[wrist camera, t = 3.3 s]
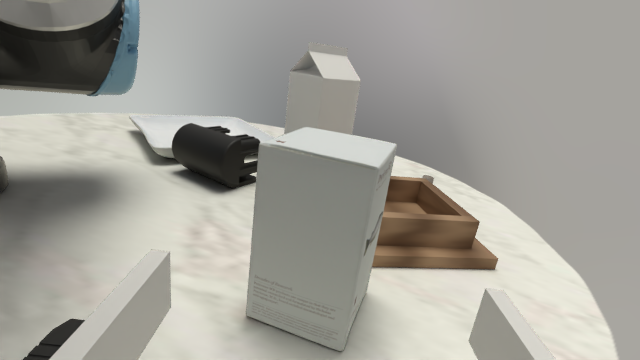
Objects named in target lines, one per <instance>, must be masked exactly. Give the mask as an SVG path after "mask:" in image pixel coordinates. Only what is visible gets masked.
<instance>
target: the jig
mask: <svg viewBox="0 0 640 360" xmlns="http://www.w3.org/2000/svg"><path fill="white" fill-rule="evenodd" d="M433 179H434V178H433V177H431V176H427V175H424V176H423V178H411V177H397V176H390V181H389V186H388V191H387V196H386V201H385V207H384V212H383V216H382V221H381V226H380V231H379V235H378V240H377V245H376V250H375V254H374V259H373V263H372V267H415V268H462V269H495V267H496V264H497V261H498V258H497V257H496V256H495V255H494V254H492V253H491V252H490V251H489V250H488V249H487V248H486V247H485V246H483V245H482V244H481V243H480V242H479V241H478V240H477V239H476V238H475V235H476V232H477V229H478V226H479V221H478V220H477V219H475V218H474V217H473V216H472V215H470V214H469V213H468V212H467V211H465V210H464V209H463V208H462V207H460V206H459V205H458V204H457V203H455V202H454V201H453V200H452V199H451V198H449V197H448V196H447V195H446V194H444V193H443V192H442V191H441V190H439V189H438V188H437V187H436V186H434V185H433V184H432V183H433Z"/></svg>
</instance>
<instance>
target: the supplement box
mask: <svg viewBox="0 0 640 360" xmlns="http://www.w3.org/2000/svg"><path fill="white" fill-rule="evenodd" d="M396 147H397V144H394V143H390V142H385V141H380V140H375V139H370V138H365V137H360V136H354V135H349V134H344V133H338V132H333V131H327V130H322V129H316V128H310V127H303V128H301V129H298V130H295V131H293V132H290V133H287V134H284V135H281V136H279V137H276V138H274V139H271V140H268V141H265V142H262V143H260V144H259V152H258V165H257V178H256V191H255V204H254V218H253V230H252V243H251V256H250V270H249V282H248V295H247V309H246V315H247V316H249V317H251V318H254V319H257V320H259V321H261V322H264V323H266V324H269V325H272V326H275V327H277V328H279V329H282V330H285V331H287V332H290V333H292V334H295V335H297V336H300V337H303V338H305V339H308V340H311V341H313V342H316V343H319V344H321V345H324V346H326V347H329V348H331V349H335V350H338V351H342V350H344V348H345V344H346V341H347V338H348V335H349V332H350V329H351V326H352V324H353V321H354V318H355V316H356V314H357V311H358V309H359V306H360V304H361V302H362V299H363V297H364V295H365V293H366V291H367V287H368V282H369V278H370V273H371V268H372V263H373V259H374V254H375V250H376V245H377V240H378V235H379V231H380V226H381V221H382V216H383V212H384V207H385V201H386V196H387V191H388V186H389V181H390V176H391V172H392V167H393V162H394V157H395V152H396Z"/></svg>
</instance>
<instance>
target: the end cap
mask: <svg viewBox="0 0 640 360" xmlns="http://www.w3.org/2000/svg"><path fill="white" fill-rule="evenodd" d="M226 133H230V130H229V129H227V128H223V127H221V126H213V127H203V126H200V125H197V124H193V123H189V124H186V125H184V126H182V127H181V128H180V129H179V130H178V131H177V132H176V134H175V135H174V138H173V141H172V153H173V156H174V157H175V159H176V160H177V161H178V162H179V163H181V164H182V165H183V166H184V167H186V168H188V169H189V170H192V171H194V172H196V173H199V174H201V175H203V176H206V177H208V178H210V179H213V180H215V181H217V182H219V183H222V184H224V185H226V186H229V187H231V188H237V187H241V186H244V185H248V184H251V183H254V182H256V177H255V176H252V175H250V174H252V173H256V172H257V165H258V161H253V162H249V163H244V158H245V156H246V155H249V154H254V153H258V152H259V144H260V140H259V139H257V138H255V137H254V136H252V137H251V136H248V135H247V134H244V135H237V136H230V135H227V134H226Z"/></svg>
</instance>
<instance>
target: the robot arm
mask: <svg viewBox="0 0 640 360" xmlns="http://www.w3.org/2000/svg"><path fill="white" fill-rule="evenodd" d="M138 40H139V0H0V89H10V90H26V91H44V92H57V93H58V92H59V93H72V94H86V95H88V96H98V95H121V94H124V93H126V92H127V91H129V90H130V89H131V87H132V85H133V83H134V79H135V74H136V68H137V58H138V50H137V47H138ZM7 185H8V176H7V170H6V165H5V162H4V160H3V158H2V157H1V156H0V192H1V191H3V190H4V189H5V188H6V187H7ZM170 308H171V285H170V251H161V250H153V249H151V250H150V251H149V252H148V253H147V254H146V255H145V256H144V258H143V259H142V260H141V261H140V262H139V263H138V264H137V265H136V266H135V267H134V268H133V269H132V270H131V272H130V273H129V274H128V275H127V276H126V277H125V278H124V279H123V280H122V281H121V282H120V283H119V285H118V286H117V287H116V288H115V289H114V290H113V291H112V292H111V293H110V294H109V295H108V296H107V297H106V299H105V300H104V301H103V302H102V303H101V304H100V305H99V306H98V307H97V308H96V309H95V310H94V312H93V313H92V314H91V315H90V316H89V317H88V318H87V319H86V320H78V319H70V320H68V321H66V322H65V323H63V324H61V325H60V326H58V327H56V328H55V329H53V330H52V331H51V332H50V333H49V334H48V335H47V336H46V337H45V338H44V339H43V340H42V341H41V342H40V343H39V345H38V346H36V347H35V348H34V349H33V350H32V351H31V352H30V353H29V354H28V356H27V357H25V358H24V359H23V360H138V358H139V357H140V355H141V354H142V352H143V350H144V349H145V347H146V346H147V344H148V343H149V341H150V339H151V338H152V336H153V335H154V333H155V331H156V330H157V328H158V327H159V325H160V323H161V322H162V320H163V319H164V317H165V316H166V314H167V312H168V311H169V309H170ZM469 343H470V345H471V347H472V349H473V351H474V353H475V355H476V357H477V359H478V360H556V359H555V357H554V356H553V355H552V353H551V352H550V351H549V349H548V348H547V347H546V346H545V344H544V343H543V342H542V340H541V339H540V338H539V336H538V335H537V334H536V332H535V331H534V330H533V328H532V327H531V326H530V324H529V323H528V322H527V321H526V319H525V318H524V317H523V315H522V314H521V313H520V311H519V310H518V309H517V307H516V306H515V305H514V303H513V302H512V301H511V300H510V298H509V297H508V296H507V294H506V293H505V292H504V290H495V289H487V288H486V289H485V292H484V295H483V298H482V301H481V304H480V307H479V310H478V313H477V316H476V319H475V322H474V326H473V329H472V332H471V335H470V338H469Z"/></svg>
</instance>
